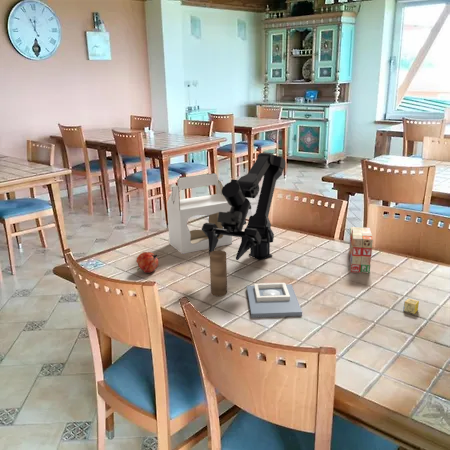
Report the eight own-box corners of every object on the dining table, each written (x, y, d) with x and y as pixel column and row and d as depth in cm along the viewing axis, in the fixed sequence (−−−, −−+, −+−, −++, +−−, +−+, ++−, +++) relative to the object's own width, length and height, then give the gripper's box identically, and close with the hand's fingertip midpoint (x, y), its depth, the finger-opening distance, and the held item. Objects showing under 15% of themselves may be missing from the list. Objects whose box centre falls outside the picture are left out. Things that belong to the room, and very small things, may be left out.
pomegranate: (136, 281, 157) (156, 267, 152) (125, 263, 157) (144, 248, 153) (148, 275, 163) (167, 261, 159) (137, 258, 164) (156, 244, 160)
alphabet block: (406, 307, 130) (407, 297, 129) (418, 310, 128) (419, 300, 127) (403, 311, 128) (404, 301, 127) (414, 314, 126) (415, 304, 125)
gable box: (217, 235, 195) (215, 169, 187) (232, 243, 184) (231, 175, 176) (168, 244, 185) (164, 176, 177) (181, 254, 174) (177, 181, 166)
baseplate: (246, 289, 144) (246, 282, 143) (291, 287, 144) (291, 280, 143) (251, 317, 126) (251, 309, 126) (302, 315, 127) (302, 308, 126)
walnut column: (215, 287, 145) (214, 249, 141) (229, 290, 143) (229, 251, 139) (208, 294, 141) (206, 254, 137) (222, 297, 139) (221, 257, 135)
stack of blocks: (348, 250, 174) (350, 219, 171) (365, 251, 173) (368, 219, 169) (350, 272, 154) (353, 237, 151) (370, 273, 153) (372, 238, 149)
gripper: (203, 198, 145) (186, 241, 139) (257, 203, 137) (242, 250, 131) (215, 215, 154) (200, 257, 148) (267, 221, 146) (253, 266, 140)
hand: (223, 257), depth 142 cm, fingers open, 9 cm apart
